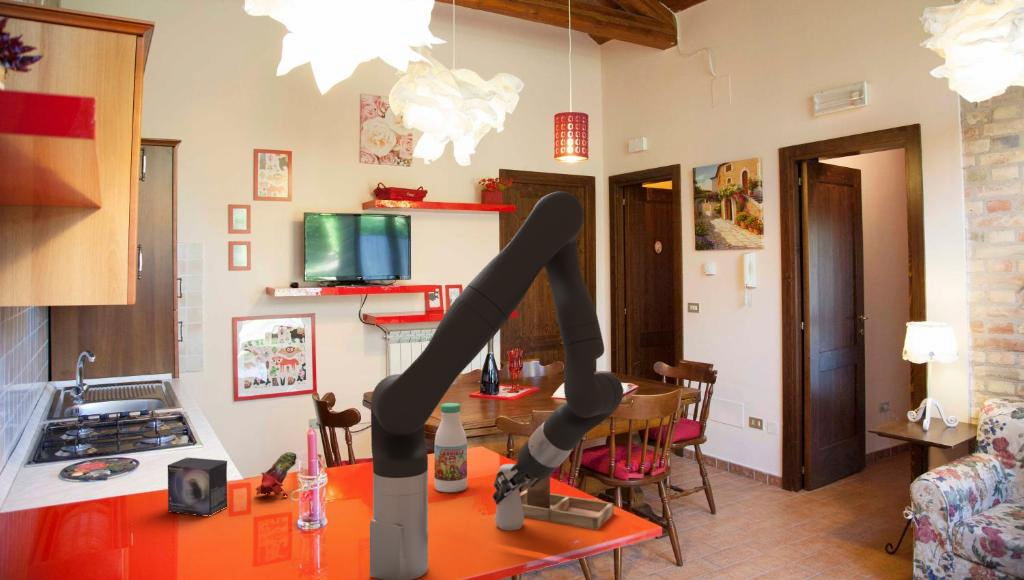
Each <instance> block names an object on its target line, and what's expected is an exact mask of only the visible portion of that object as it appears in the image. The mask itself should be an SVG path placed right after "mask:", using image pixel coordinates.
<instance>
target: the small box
mask: <svg viewBox="0 0 1024 580" xmlns="http://www.w3.org/2000/svg"><path fill="white" fill-rule="evenodd" d="M227 470H228V460H225V459H224V460H222V459H209V458H198V457H188V456H187V457H185V458H181V459H180V460H176V461H175V462H172V463H169V464H167V504H168V505H167V512H168V511H171V512H179V513H188V514H196V515H208V516H209V515H212V514H213V513H215V512H217V511H219V510H221V509H223V508H225V507H227V508H228V473H227V472H228V471H227ZM196 515H195V516H196Z"/></svg>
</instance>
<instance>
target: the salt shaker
mask: <svg viewBox="0 0 1024 580" xmlns="http://www.w3.org/2000/svg"><path fill="white" fill-rule="evenodd" d="M515 464H516V463H515ZM515 464H514V463H504V464H502V465H501V466H500V467H499V468H498V473H499V472H501V471H503V473H504V474H506V473H508V472H509V471H510V470H511V468H512V467H513V466H514V465H515ZM507 487H508V489H509V488H510V486H509V485H508V486H507ZM520 494H521V493H520V492H519V489H518V490H514V491H512V492H511V493H510V494H509V495H508V496H507V497H506V498H504V499H503V500H502V501H500V502H499V505H497V504H496V510H495V516H494V522H495V524H496V526H497V527H498V529H499V530H502V531H503V530H504V531H516V530H519V529H521V528H522V527H523V524H524V522H525V517H524V513H523V508H522V502H521V497H520Z"/></svg>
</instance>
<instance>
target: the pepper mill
mask: <svg viewBox="0 0 1024 580" xmlns="http://www.w3.org/2000/svg"><path fill="white" fill-rule="evenodd" d="M526 490H527V505H530V506H536V507H542V508H548V509H550V493H551V475H550V476H549V477H548V478H545V479H542V480H541V481H540V482H538V483H537V484H536V485H534V487H530V486H529V487H528V488H527V489H526Z"/></svg>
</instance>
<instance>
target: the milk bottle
mask: <svg viewBox="0 0 1024 580" xmlns="http://www.w3.org/2000/svg"><path fill="white" fill-rule="evenodd" d="M440 414H441V419H440V420H441V421H440V423H439V426H438V427H437V430H436V434H435V435H434V436H435V438H434V449H433V450H434V453H433V454H434V458H433V459H434V460H433V462H434V463H433V465H434V468H433V469H434V471H433V472H434V473H433V474H434V475H433V476H434V477H433V478H434V482H433V483H434V489H435V490H436V491H438V492H441V493H458V492H462V491H464V490H466V488H467V486H468V444H467V443H468V442H467V434H466V431H465V429H464V427H463V424H462V421H461V418H460V414H461V404H460V403H456V402H446V403H442V404H441V405H440Z"/></svg>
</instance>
